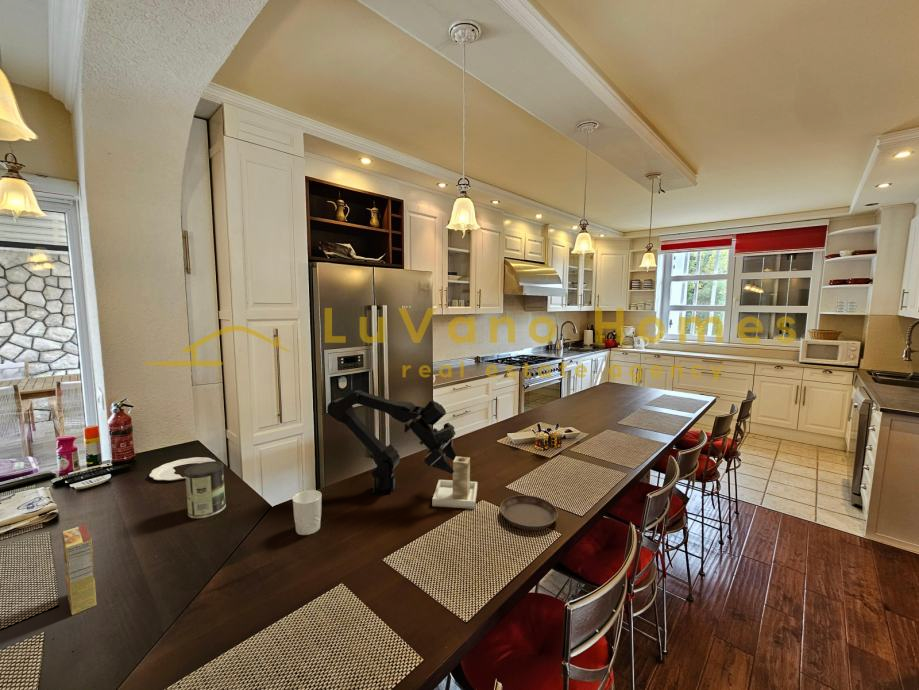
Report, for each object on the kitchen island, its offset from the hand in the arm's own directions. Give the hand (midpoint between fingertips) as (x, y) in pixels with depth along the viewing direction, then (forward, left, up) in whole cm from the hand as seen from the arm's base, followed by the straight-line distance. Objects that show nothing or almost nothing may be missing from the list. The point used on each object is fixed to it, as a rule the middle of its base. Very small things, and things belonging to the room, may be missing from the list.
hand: (455, 467), depth 132 cm
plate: (-108, +8, -11) cm, 109 cm away
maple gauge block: (+2, 0, -10) cm, 10 cm away
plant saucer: (+24, -10, -11) cm, 28 cm away
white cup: (-41, -24, -11) cm, 49 cm away
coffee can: (-78, -18, -11) cm, 81 cm away
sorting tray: (0, 0, -11) cm, 11 cm away
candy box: (-77, -56, -11) cm, 96 cm away
